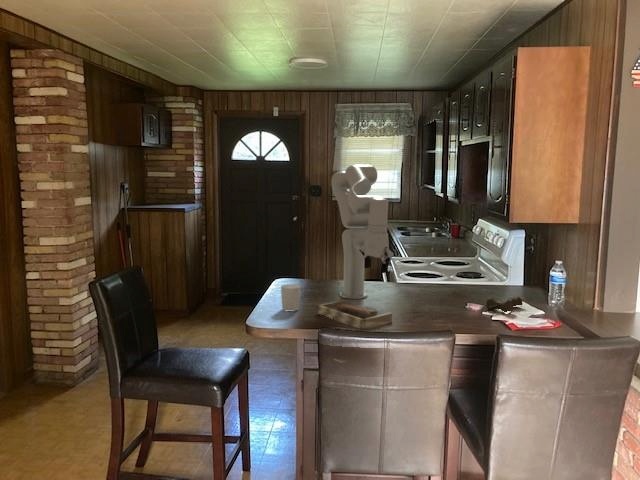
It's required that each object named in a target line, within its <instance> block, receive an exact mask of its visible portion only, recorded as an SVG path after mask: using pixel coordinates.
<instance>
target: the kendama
mask: <svg viewBox="0 0 640 480" xmlns="http://www.w3.org/2000/svg"><path fill="white" fill-rule="evenodd" d="M516 305H522V306H523V300H522V298H521V297H520V296H519V295H515V296H513V297H508V298H507V300H504V301H499V300H497V299H496V298H494V297H491V296H490V297H489V298H487V300H486V303H485V306H486V307H485V308H486V309H487V310H488V311H493V309H494V310H499V309H501V310H502V312H503V311H504V312H507V311H511V312H512V311H513V309H514V308H513V306H516ZM501 310H500V311H501Z"/></svg>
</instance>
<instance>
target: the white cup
mask: <svg viewBox="0 0 640 480" xmlns="http://www.w3.org/2000/svg"><path fill="white" fill-rule="evenodd" d="M280 293H281V298H280V299H281V304H282V305H281V309H282V308H283V309H284V310H297V309H298V308H299V307H300V297H301V296H300V295H301V286H300V285H299V284H294V283H292V284H291V283H288V284H282V285H281V286H280ZM299 309H300V308H299ZM299 309H298V310H299Z"/></svg>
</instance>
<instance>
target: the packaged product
mask: <svg viewBox="0 0 640 480" xmlns="http://www.w3.org/2000/svg"><path fill="white" fill-rule="evenodd" d="M337 311H340V312H343V313H346V314H350V315H353V316H356V317H359V318H362V319H365V318H369V317H373V316H377V315H378V314H379V312H378V311H376V310H373V309H370V308H366V307H362V306H359V305H355V304H351V303H348V302H347V303H345V304H341V305H338V306H337Z"/></svg>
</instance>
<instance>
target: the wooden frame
mask: <svg viewBox="0 0 640 480" xmlns="http://www.w3.org/2000/svg"><path fill="white" fill-rule="evenodd" d="M345 303H347V304H348V300H347V299H342V300H336V301H332V302H327V303H322V304H317V305H316V313H318V314H321V315H324V316H326V317H325V318H327V317H329V318H328V319H330V318H331V320H333V319H334V320H333V321H336V322H339V323H342V324H346V325H348V326H351V327H353V328H357V329H360V330H363V331H364V330H368V329H371V328H375V327H379V326H383V325H386V324H391V323H393V313H392V312H386V313H382V314H377V315H376V316H373V317H369V318H365V319H362V318H359V317H356V316H353V315H350V314H346V313H343V312H340V311H337V306H338V305H341V304H345ZM316 313H315V314H316ZM318 314H317V315H318ZM321 315H320V316H321ZM324 316H323V317H324Z"/></svg>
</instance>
